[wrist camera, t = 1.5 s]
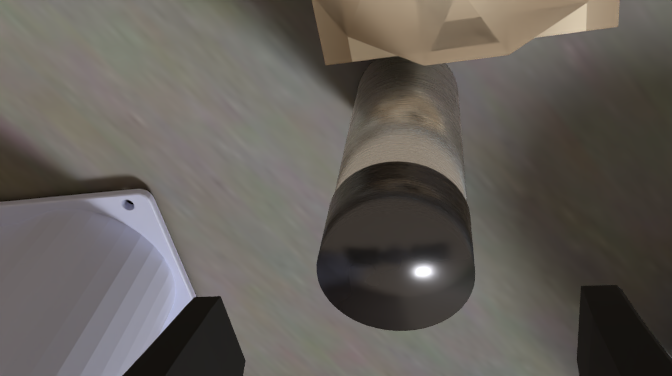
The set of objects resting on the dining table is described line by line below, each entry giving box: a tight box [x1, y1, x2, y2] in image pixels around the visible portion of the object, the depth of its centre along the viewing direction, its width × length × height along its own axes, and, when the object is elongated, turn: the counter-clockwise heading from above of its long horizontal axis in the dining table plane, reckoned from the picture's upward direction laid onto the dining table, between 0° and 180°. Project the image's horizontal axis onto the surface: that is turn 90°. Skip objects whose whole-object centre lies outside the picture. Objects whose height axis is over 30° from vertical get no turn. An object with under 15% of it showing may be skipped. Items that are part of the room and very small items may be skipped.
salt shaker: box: [317, 56, 475, 331], centre depth 17 cm, size 4×4×9 cm
